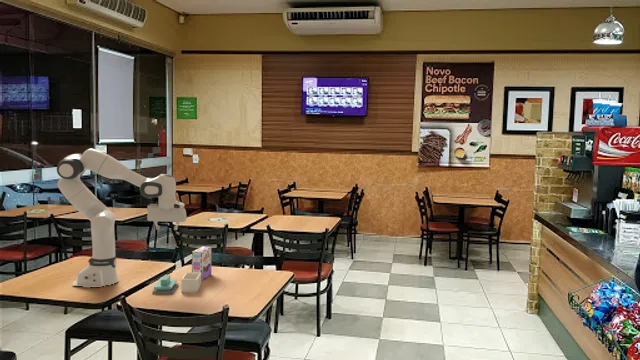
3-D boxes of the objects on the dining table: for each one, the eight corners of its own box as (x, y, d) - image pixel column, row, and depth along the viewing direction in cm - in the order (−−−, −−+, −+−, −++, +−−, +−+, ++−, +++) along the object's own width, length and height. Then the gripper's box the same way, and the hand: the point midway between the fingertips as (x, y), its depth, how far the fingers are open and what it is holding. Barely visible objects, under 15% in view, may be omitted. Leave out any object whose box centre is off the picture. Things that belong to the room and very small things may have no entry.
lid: (153, 291, 243) (153, 281, 242) (160, 283, 255) (160, 274, 255) (171, 291, 244) (171, 281, 243) (176, 283, 256) (176, 274, 256)
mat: (152, 294, 242) (152, 291, 242) (159, 285, 256) (159, 283, 256) (172, 294, 243) (172, 291, 243) (178, 285, 257) (178, 283, 257)
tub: (181, 292, 245) (181, 279, 245) (185, 285, 257) (185, 272, 257) (197, 292, 246) (197, 279, 245) (201, 285, 258) (201, 272, 257)
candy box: (201, 281, 265) (201, 252, 264) (191, 280, 266) (191, 251, 265) (211, 274, 279) (211, 246, 277) (202, 273, 280) (202, 245, 278)
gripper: (145, 204, 254) (145, 230, 255) (184, 205, 255) (184, 231, 256) (149, 202, 260) (148, 227, 261) (187, 204, 262) (186, 229, 263)
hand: (166, 229), depth 259 cm, fingers open, 8 cm apart
